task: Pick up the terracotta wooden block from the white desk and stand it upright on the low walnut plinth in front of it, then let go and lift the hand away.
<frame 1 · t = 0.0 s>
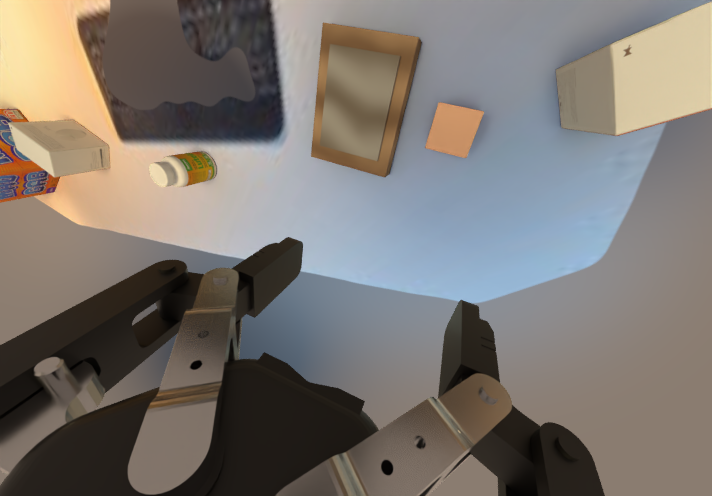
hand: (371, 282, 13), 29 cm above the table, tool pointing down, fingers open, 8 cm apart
supplement bottle: (207, 165, 52), on the table
small box: (603, 83, 28), on the table
terracotta block: (455, 127, 34), on the table
game box: (39, 153, 71), on the table
walnut plinth: (362, 106, 37), on the table
skincare box: (94, 145, 61), on the table
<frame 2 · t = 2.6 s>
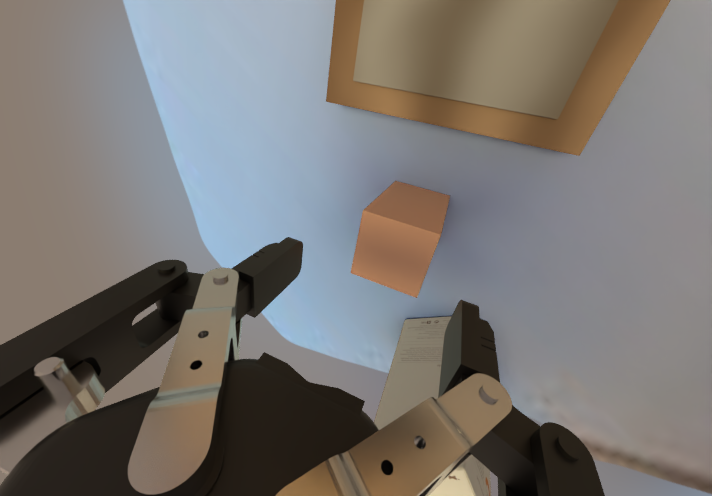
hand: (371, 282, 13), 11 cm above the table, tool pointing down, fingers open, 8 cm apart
small box: (444, 345, 27), on the table
terracotta block: (414, 213, 22), on the table
walnut plinth: (475, 15, 16), on the table
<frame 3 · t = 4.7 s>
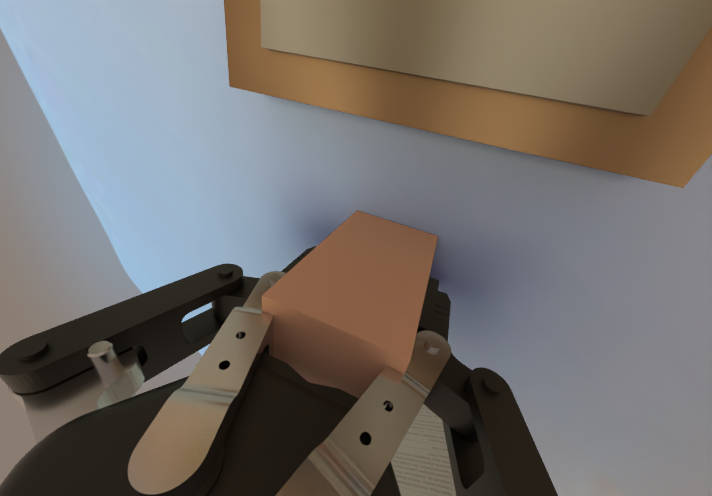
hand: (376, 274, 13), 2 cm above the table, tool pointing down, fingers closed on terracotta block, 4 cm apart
small box: (433, 424, 20), on the table
terracotta block: (386, 257, 15), on the table, touching gripper
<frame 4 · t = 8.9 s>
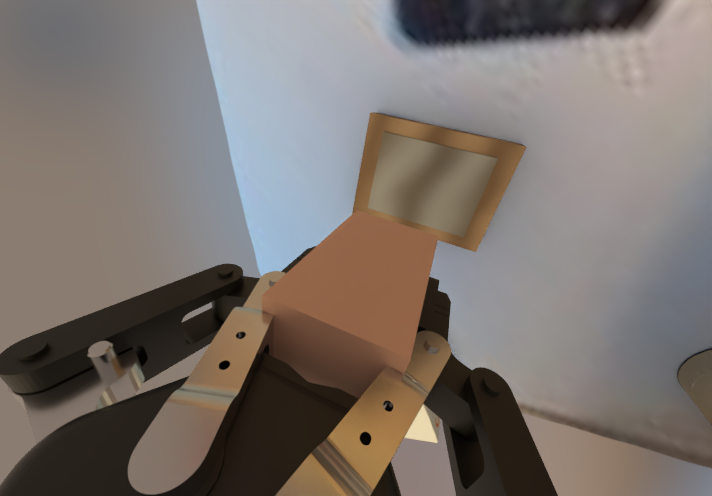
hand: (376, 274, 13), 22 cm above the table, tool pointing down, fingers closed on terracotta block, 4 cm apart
small box: (420, 342, 44), on the table
terracotta block: (386, 257, 15), point 20 cm above the table, touching gripper
walnut plinth: (427, 180, 32), on the table
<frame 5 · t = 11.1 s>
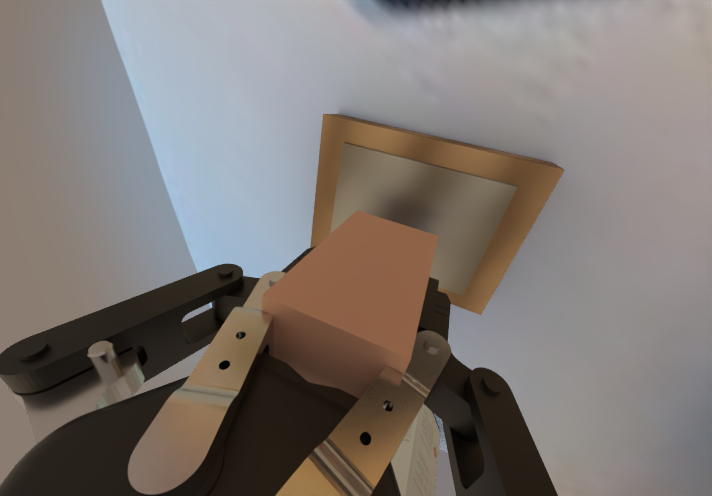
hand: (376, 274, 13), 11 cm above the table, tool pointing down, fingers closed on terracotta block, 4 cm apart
small box: (408, 407, 34), on the table
terracotta block: (386, 257, 15), point 9 cm above the table, touching gripper
walnut plinth: (412, 210, 22), on the table
when the fingers open (6 cm above the table, at t = 13.2 s): terracotta block drops 1 cm, resting on walnut plinth.
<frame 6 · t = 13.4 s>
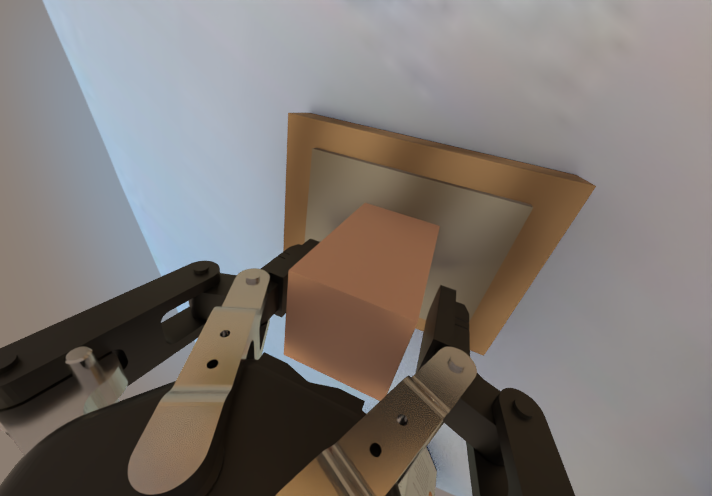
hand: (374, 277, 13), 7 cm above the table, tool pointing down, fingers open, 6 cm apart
small box: (401, 442, 31), on the table
terracotta block: (391, 246, 16), point 3 cm above the table, touching walnut plinth
walnut plinth: (401, 228, 19), on the table
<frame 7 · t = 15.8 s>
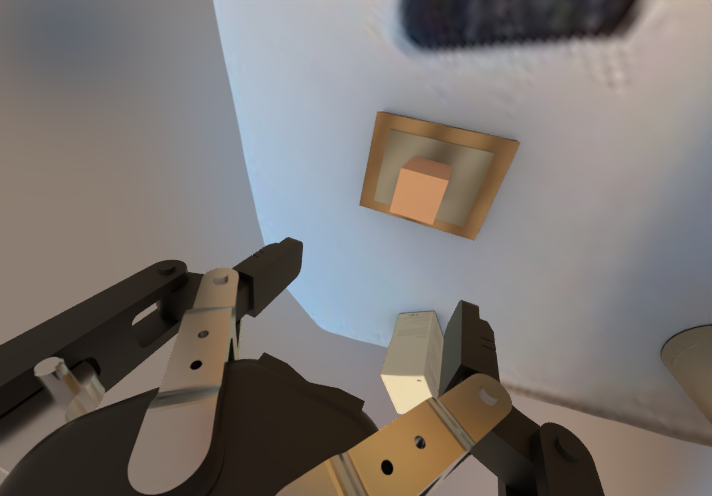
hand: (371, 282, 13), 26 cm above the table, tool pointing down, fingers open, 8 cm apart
small box: (422, 329, 46), on the table
terracotta block: (427, 179, 32), point 3 cm above the table, touching walnut plinth
walnut plinth: (430, 174, 34), on the table
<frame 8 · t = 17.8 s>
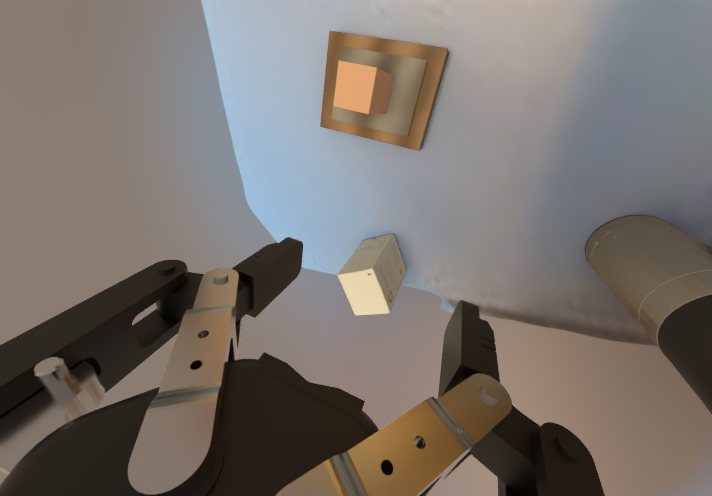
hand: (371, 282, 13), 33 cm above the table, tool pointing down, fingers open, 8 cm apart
small box: (385, 254, 51), on the table
terracotta block: (374, 92, 36), point 3 cm above the table, touching walnut plinth
walnut plinth: (380, 93, 39), on the table
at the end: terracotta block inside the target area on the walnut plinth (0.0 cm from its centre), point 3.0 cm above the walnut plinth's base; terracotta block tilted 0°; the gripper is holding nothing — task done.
